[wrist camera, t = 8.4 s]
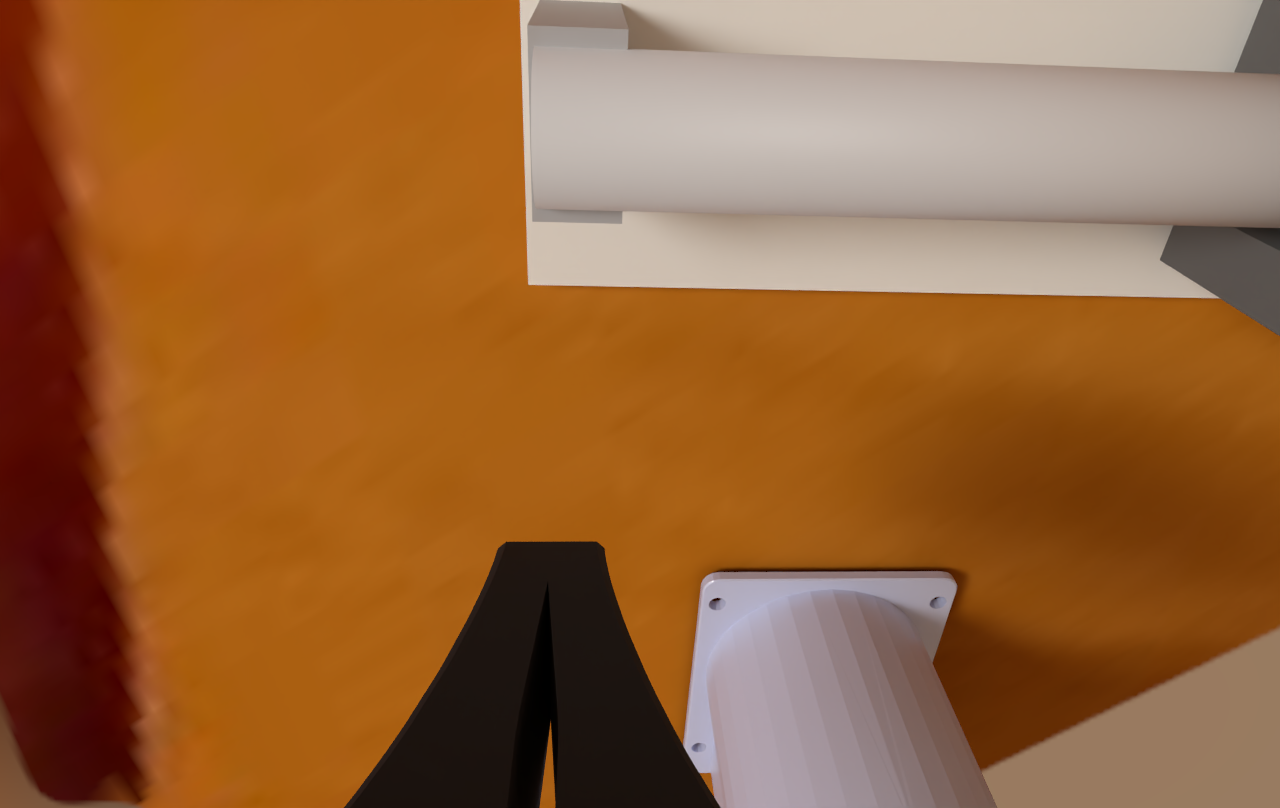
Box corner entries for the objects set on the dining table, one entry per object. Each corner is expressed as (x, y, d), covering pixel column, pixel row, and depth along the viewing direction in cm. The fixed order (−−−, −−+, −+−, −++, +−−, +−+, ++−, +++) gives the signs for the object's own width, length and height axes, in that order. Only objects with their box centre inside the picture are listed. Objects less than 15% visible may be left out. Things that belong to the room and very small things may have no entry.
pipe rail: (1604, -116, 17) (2047, -123, 12) (1378, 292, 21) (1622, 413, 16) (516, -179, 15) (480, -217, 10) (530, 274, 20) (509, 402, 15)
